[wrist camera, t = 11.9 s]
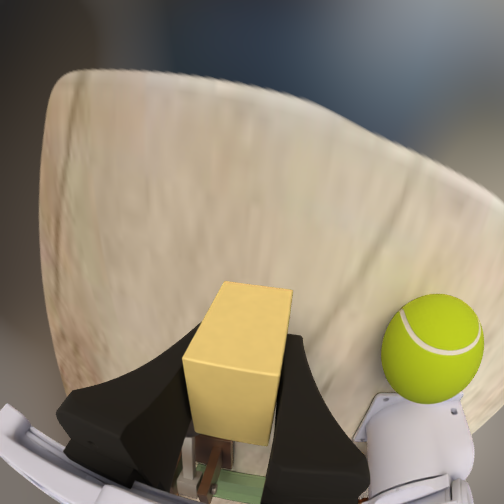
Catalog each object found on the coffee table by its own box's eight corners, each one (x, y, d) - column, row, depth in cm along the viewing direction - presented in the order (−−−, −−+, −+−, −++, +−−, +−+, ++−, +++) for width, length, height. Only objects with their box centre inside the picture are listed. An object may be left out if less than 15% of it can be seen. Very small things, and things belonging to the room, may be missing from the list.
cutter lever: (177, 395, 25) (163, 413, 22) (209, 403, 25) (199, 423, 22) (181, 476, 27) (172, 494, 24) (208, 483, 26) (200, 502, 23)
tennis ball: (379, 276, 18) (404, 348, 12) (469, 272, 17) (517, 332, 10) (368, 356, 21) (378, 431, 14) (448, 349, 19) (475, 414, 13)
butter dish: (277, 478, 32) (275, 490, 30) (271, 496, 36) (269, 506, 34) (197, 463, 34) (194, 474, 32) (203, 484, 37) (200, 493, 36)
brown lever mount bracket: (172, 419, 29) (147, 473, 22) (233, 433, 28) (215, 493, 21) (181, 449, 32) (162, 496, 25) (233, 462, 31) (219, 511, 24)
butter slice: (293, 289, 13) (280, 375, 8) (282, 364, 14) (267, 447, 10) (224, 280, 13) (181, 357, 9) (224, 355, 15) (194, 432, 10)
